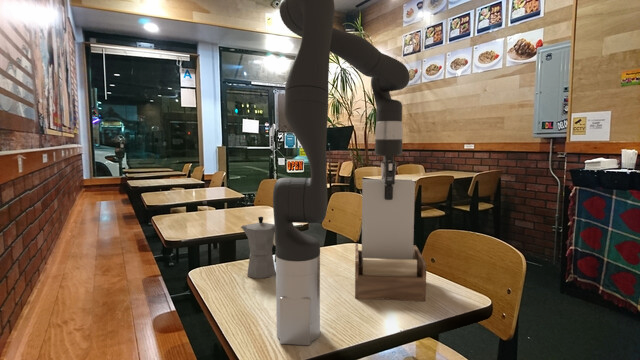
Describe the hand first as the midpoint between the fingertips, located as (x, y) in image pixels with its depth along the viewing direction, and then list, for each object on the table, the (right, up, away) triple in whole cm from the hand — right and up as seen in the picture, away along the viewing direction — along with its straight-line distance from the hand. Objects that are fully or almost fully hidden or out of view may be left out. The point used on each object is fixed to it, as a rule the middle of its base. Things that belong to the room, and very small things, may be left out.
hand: (387, 197), depth 102 cm
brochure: (0, -25, +2) cm, 25 cm away
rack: (0, -25, -1) cm, 25 cm away
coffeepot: (-36, -24, +10) cm, 45 cm away
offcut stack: (-1, -26, -5) cm, 26 cm away
